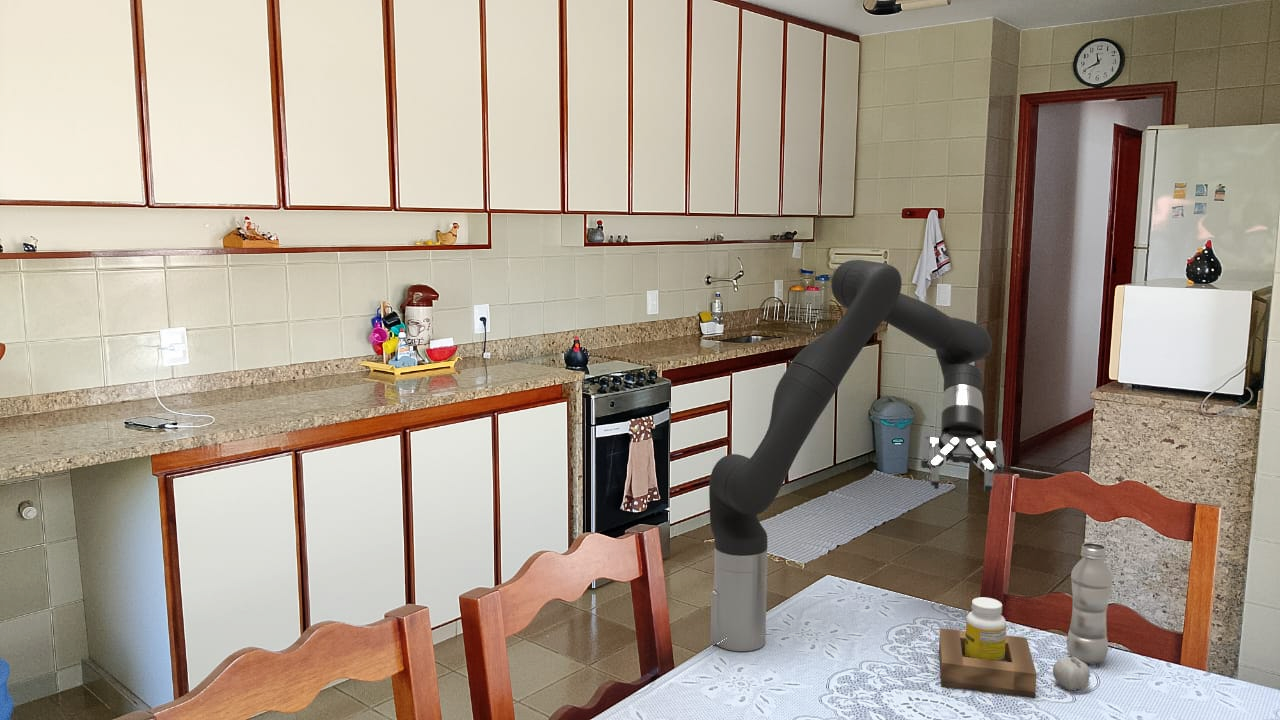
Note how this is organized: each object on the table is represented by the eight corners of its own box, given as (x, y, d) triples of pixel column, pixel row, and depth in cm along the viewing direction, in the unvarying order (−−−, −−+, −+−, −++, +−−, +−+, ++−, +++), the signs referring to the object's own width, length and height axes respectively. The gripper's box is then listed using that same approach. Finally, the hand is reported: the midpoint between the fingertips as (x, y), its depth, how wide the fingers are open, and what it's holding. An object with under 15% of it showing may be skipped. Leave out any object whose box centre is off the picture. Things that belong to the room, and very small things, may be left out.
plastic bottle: (1066, 664, 160) (1073, 550, 158) (1064, 648, 167) (1071, 538, 164) (1108, 671, 158) (1116, 555, 155) (1105, 654, 164) (1113, 542, 162)
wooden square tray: (941, 686, 153) (942, 662, 152) (938, 650, 166) (939, 628, 165) (1035, 698, 149) (1036, 673, 148) (1025, 660, 162) (1026, 637, 162)
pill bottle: (961, 656, 161) (964, 593, 160) (1000, 659, 160) (1003, 596, 158) (966, 673, 155) (969, 608, 154) (1006, 676, 154) (1010, 611, 152)
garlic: (1093, 696, 149) (1095, 665, 149) (1056, 693, 151) (1058, 662, 150) (1084, 679, 155) (1086, 649, 155) (1048, 676, 156) (1050, 646, 156)
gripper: (923, 400, 179) (920, 474, 170) (1004, 405, 175) (1006, 481, 166) (922, 423, 185) (919, 496, 175) (1000, 428, 181) (1001, 502, 172)
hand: (961, 488), depth 171 cm, fingers open, 8 cm apart
